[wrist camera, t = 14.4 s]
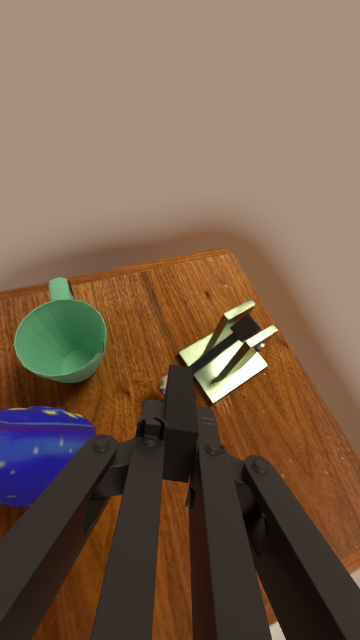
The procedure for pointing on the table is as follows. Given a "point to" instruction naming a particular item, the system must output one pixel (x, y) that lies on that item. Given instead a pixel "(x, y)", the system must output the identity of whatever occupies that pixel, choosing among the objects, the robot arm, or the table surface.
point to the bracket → (228, 356)
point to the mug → (61, 337)
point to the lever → (218, 348)
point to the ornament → (36, 449)
